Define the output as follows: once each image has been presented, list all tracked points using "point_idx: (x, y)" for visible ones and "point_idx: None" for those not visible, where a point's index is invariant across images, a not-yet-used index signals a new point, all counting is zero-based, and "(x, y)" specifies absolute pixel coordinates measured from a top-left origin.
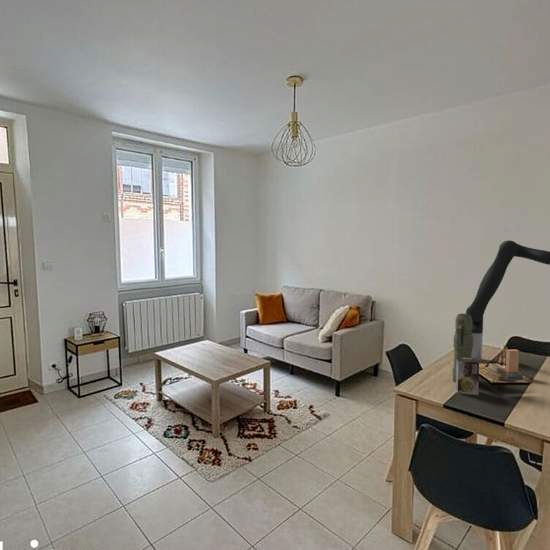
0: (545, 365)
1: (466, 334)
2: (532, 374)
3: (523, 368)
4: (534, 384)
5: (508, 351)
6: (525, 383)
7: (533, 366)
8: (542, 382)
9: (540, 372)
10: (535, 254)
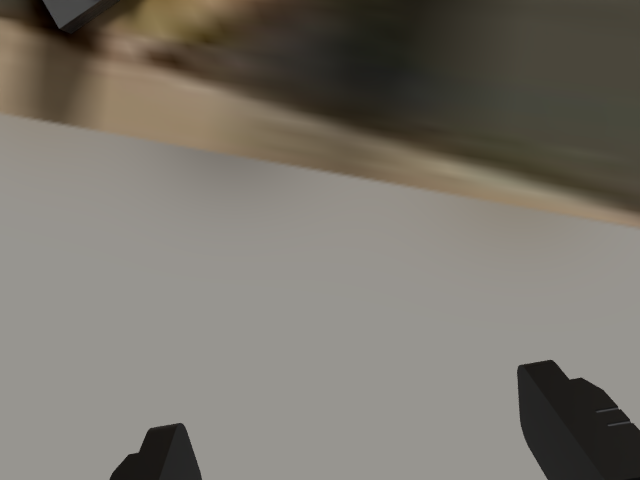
0: (539, 210)
1: None
2: (264, 83)
3: (390, 40)
4: (59, 65)
5: None
6: None
7: (475, 119)
8: (120, 118)
9: (336, 143)
10: None
